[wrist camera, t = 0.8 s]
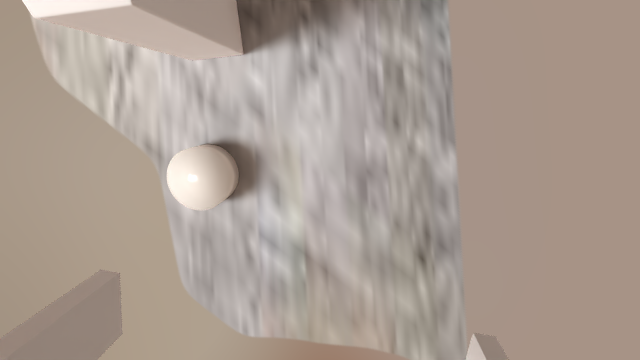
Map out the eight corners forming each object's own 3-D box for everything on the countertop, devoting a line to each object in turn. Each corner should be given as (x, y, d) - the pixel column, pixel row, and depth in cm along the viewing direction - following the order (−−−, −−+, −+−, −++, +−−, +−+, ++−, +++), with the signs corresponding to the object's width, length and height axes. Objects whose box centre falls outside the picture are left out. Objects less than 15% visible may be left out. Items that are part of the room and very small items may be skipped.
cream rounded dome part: (184, 139, 39) (168, 142, 36) (242, 149, 38) (231, 154, 35) (181, 195, 41) (165, 204, 37) (236, 206, 40) (225, 215, 37)
